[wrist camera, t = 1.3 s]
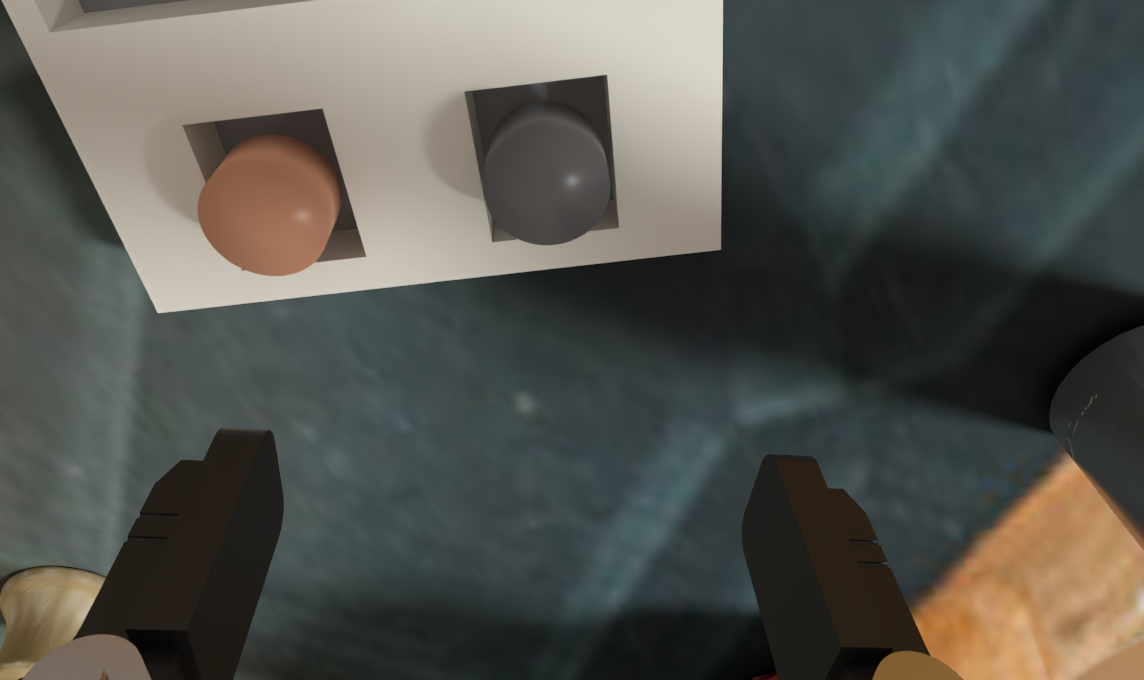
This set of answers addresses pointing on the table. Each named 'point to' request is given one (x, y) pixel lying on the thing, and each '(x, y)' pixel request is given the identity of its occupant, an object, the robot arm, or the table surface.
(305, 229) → the terracotta button
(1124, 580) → the table surface
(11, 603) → the hand bell
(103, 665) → the robot arm
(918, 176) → the table surface
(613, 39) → the console
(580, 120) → the black button
